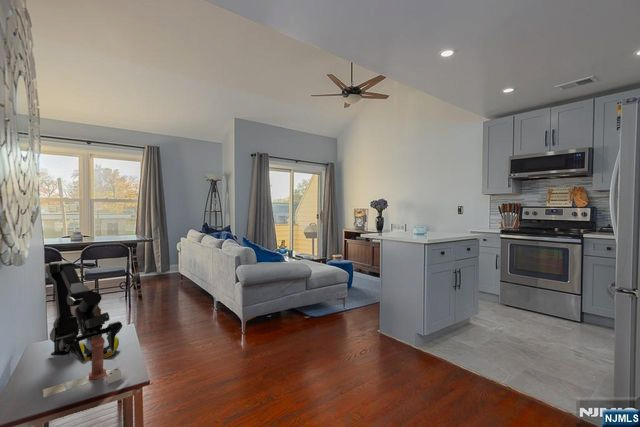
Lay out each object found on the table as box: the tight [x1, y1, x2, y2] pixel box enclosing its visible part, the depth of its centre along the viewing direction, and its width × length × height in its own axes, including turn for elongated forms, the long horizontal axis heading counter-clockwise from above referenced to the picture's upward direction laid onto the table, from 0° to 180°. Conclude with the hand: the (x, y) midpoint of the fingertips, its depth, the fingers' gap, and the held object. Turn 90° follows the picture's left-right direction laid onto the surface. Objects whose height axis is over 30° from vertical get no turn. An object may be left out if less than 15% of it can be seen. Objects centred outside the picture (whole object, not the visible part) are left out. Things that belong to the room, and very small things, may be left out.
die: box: [105, 367, 122, 385], centre depth 111 cm, size 4×4×4 cm
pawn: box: [88, 336, 107, 381], centre depth 112 cm, size 5×5×15 cm
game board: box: [42, 374, 106, 398], centre depth 110 cm, size 19×12×1 cm, turn 135°
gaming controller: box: [76, 336, 120, 361], centre depth 129 cm, size 15×6×10 cm
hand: (98, 355), depth 111 cm, fingers open, 9 cm apart
